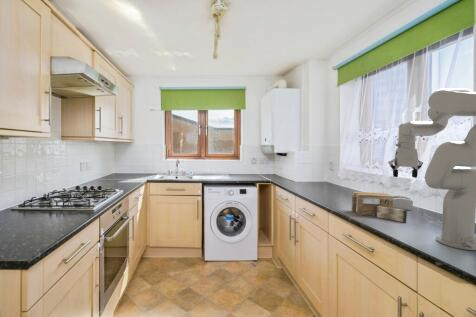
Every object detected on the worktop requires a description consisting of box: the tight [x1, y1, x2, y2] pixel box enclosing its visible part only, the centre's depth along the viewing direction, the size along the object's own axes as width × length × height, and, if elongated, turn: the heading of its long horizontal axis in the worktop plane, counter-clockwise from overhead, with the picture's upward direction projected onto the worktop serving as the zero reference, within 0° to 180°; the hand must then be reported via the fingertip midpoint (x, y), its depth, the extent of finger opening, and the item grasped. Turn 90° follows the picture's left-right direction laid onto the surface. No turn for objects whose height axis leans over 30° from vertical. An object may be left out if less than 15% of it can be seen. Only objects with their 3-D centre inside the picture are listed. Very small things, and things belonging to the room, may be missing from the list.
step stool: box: [351, 191, 394, 217], centre depth 134 cm, size 10×18×12 cm, turn 84°
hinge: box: [385, 195, 414, 211], centre depth 146 cm, size 17×5×10 cm, turn 84°
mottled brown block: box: [374, 206, 408, 223], centre depth 124 cm, size 14×2×6 cm, turn 49°
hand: (404, 177), depth 126 cm, fingers open, 9 cm apart
